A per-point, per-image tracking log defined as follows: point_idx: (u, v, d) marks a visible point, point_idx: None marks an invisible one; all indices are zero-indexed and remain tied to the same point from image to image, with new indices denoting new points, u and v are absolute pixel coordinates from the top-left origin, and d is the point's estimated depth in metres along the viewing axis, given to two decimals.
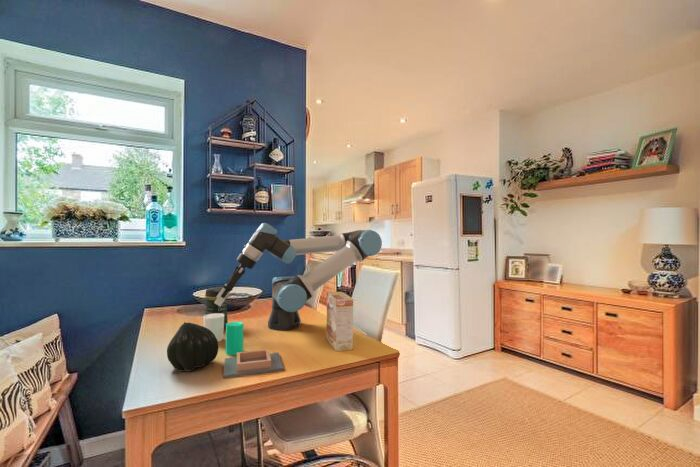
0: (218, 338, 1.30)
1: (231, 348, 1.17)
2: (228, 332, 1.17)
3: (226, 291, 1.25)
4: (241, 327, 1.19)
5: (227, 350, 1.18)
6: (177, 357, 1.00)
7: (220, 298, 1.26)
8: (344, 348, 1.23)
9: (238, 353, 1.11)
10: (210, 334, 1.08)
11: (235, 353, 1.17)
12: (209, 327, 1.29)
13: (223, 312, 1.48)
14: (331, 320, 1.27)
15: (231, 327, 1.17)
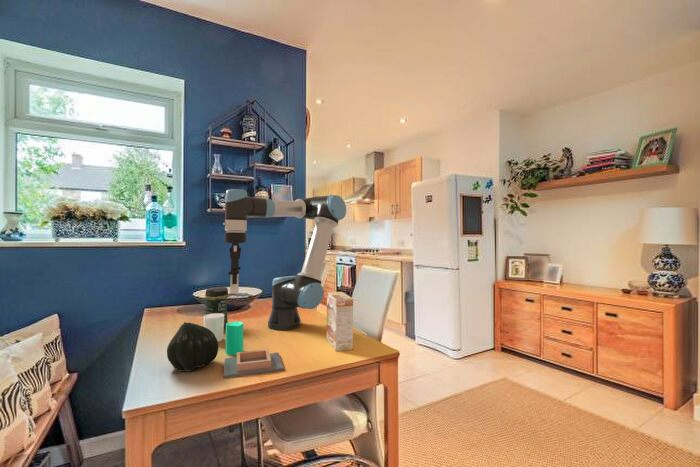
0: (218, 338, 1.30)
1: (231, 348, 1.17)
2: (228, 332, 1.17)
3: (234, 276, 1.12)
4: (241, 327, 1.19)
5: (227, 350, 1.18)
6: (177, 357, 1.00)
7: (233, 285, 1.13)
8: (344, 348, 1.23)
9: (238, 353, 1.11)
10: (210, 334, 1.08)
11: (235, 353, 1.17)
12: (209, 327, 1.29)
13: (223, 312, 1.48)
14: (331, 320, 1.27)
15: (231, 327, 1.17)
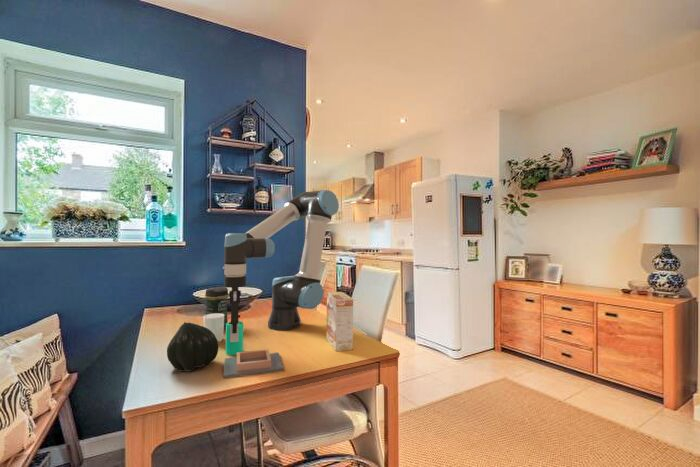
0: (218, 338, 1.30)
1: (231, 348, 1.17)
2: (228, 332, 1.17)
3: (234, 325, 1.15)
4: (241, 327, 1.19)
5: (227, 350, 1.18)
6: (177, 357, 1.00)
7: (233, 334, 1.16)
8: (344, 348, 1.23)
9: (238, 353, 1.11)
10: (210, 334, 1.08)
11: (235, 353, 1.17)
12: (209, 327, 1.29)
13: (223, 312, 1.48)
14: (331, 320, 1.27)
15: None
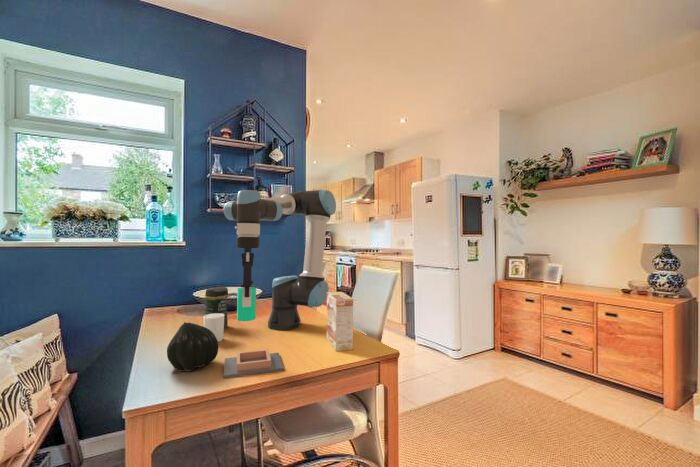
0: (218, 338, 1.30)
1: (243, 313, 1.08)
2: (240, 296, 1.09)
3: (247, 288, 1.06)
4: (254, 292, 1.10)
5: (238, 316, 1.09)
6: (177, 357, 1.00)
7: (246, 299, 1.07)
8: (344, 348, 1.23)
9: (238, 353, 1.11)
10: (210, 334, 1.08)
11: (247, 319, 1.08)
12: (209, 327, 1.29)
13: (223, 312, 1.48)
14: (331, 320, 1.27)
15: None
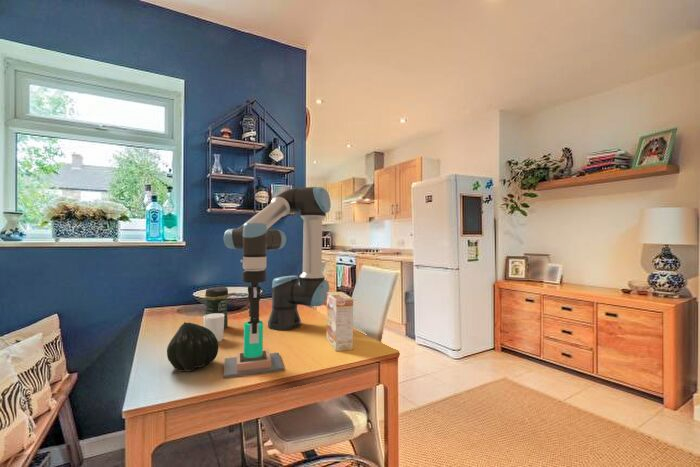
0: (218, 338, 1.30)
1: (250, 350, 1.05)
2: (247, 332, 1.06)
3: (254, 325, 1.04)
4: (261, 327, 1.07)
5: (245, 352, 1.06)
6: (177, 357, 1.00)
7: (253, 335, 1.05)
8: (344, 348, 1.23)
9: (238, 353, 1.11)
10: (210, 334, 1.08)
11: (254, 356, 1.06)
12: (209, 327, 1.29)
13: (223, 312, 1.48)
14: (331, 320, 1.27)
15: None
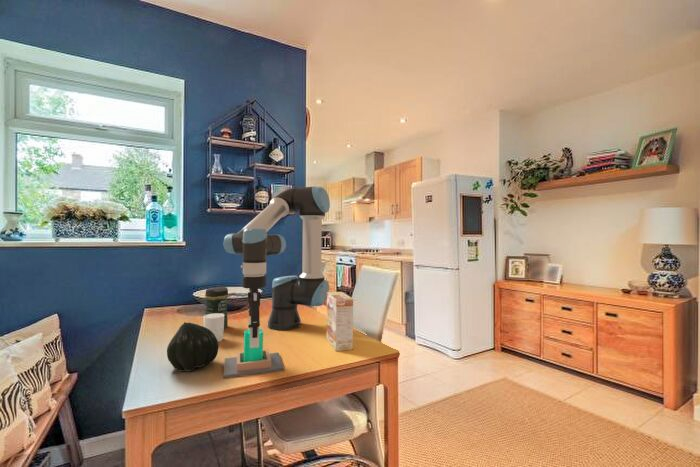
0: (218, 338, 1.30)
1: (250, 358, 1.05)
2: (247, 341, 1.06)
3: (255, 329, 1.01)
4: (261, 335, 1.07)
5: (245, 361, 1.06)
6: (177, 357, 1.00)
7: (253, 339, 1.02)
8: (344, 348, 1.23)
9: (238, 353, 1.11)
10: (210, 334, 1.08)
11: None
12: (209, 327, 1.29)
13: (223, 312, 1.48)
14: (331, 320, 1.27)
15: None
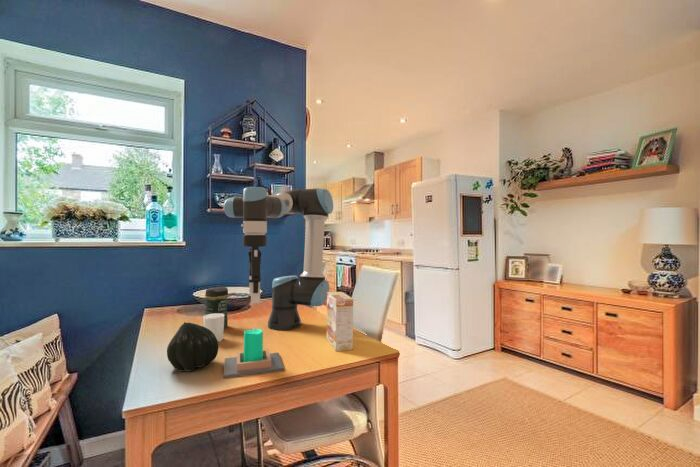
0: (218, 338, 1.30)
1: (250, 358, 1.05)
2: (247, 341, 1.06)
3: (255, 284, 1.00)
4: (261, 335, 1.07)
5: (245, 361, 1.06)
6: (177, 357, 1.00)
7: (254, 295, 1.01)
8: (344, 348, 1.23)
9: (238, 353, 1.11)
10: (210, 334, 1.08)
11: None
12: (209, 327, 1.29)
13: (223, 312, 1.48)
14: (331, 320, 1.27)
15: (250, 335, 1.05)
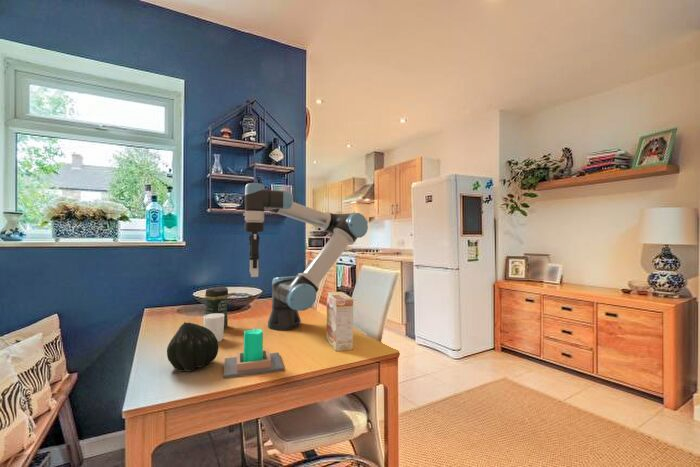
0: (218, 338, 1.30)
1: (250, 358, 1.05)
2: (246, 341, 1.06)
3: (255, 261, 1.25)
4: (261, 335, 1.07)
5: (245, 361, 1.06)
6: (177, 357, 1.00)
7: (254, 270, 1.26)
8: (344, 348, 1.23)
9: (238, 353, 1.11)
10: (210, 334, 1.08)
11: None
12: (209, 327, 1.29)
13: (223, 312, 1.48)
14: (331, 320, 1.27)
15: (250, 335, 1.05)
